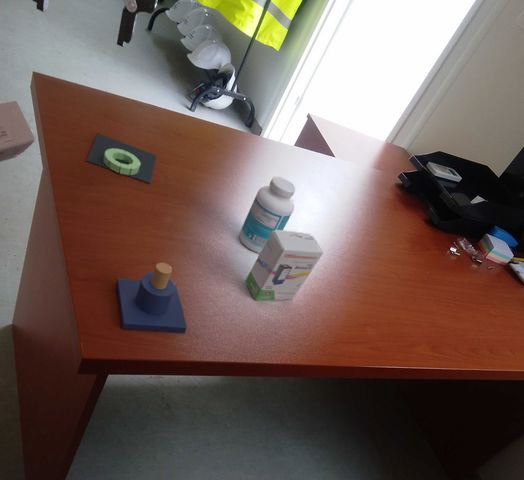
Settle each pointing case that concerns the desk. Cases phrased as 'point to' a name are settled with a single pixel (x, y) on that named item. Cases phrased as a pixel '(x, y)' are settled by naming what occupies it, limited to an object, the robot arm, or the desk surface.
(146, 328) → the stand
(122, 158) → the ring
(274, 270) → the ink box
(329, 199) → the desk surface
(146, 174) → the mat
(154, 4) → the robot arm
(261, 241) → the pill bottle
